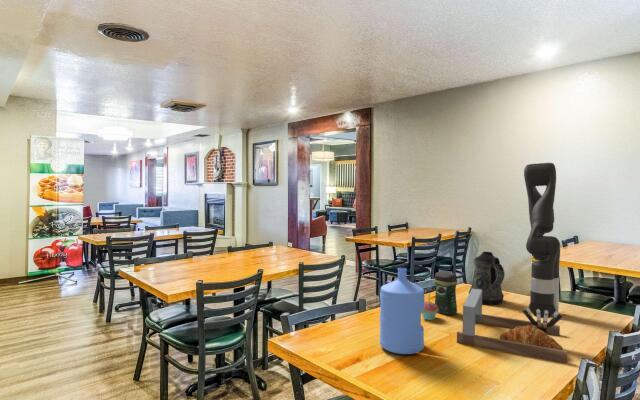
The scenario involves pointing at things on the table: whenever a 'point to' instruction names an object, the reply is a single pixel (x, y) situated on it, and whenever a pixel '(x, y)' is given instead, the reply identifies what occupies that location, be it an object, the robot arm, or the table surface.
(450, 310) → the coffee jar
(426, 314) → the cupcake
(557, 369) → the table surface
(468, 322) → the two-rail open rack
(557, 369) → the table surface
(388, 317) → the water jug
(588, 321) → the table surface
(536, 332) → the pastry
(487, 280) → the beer stein
